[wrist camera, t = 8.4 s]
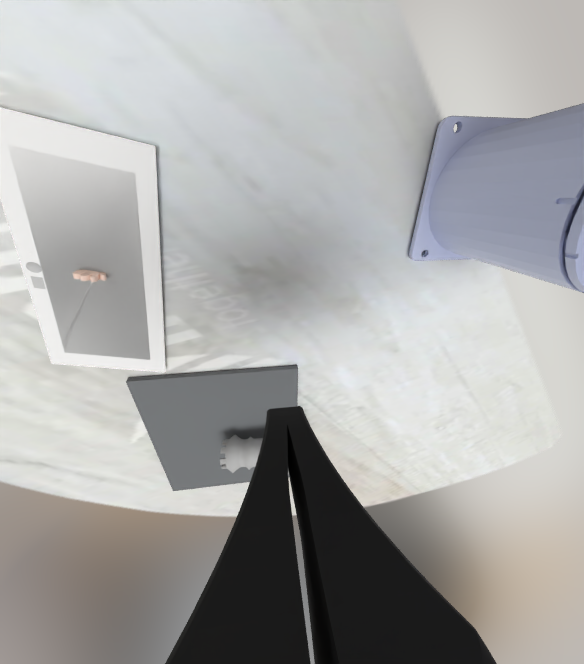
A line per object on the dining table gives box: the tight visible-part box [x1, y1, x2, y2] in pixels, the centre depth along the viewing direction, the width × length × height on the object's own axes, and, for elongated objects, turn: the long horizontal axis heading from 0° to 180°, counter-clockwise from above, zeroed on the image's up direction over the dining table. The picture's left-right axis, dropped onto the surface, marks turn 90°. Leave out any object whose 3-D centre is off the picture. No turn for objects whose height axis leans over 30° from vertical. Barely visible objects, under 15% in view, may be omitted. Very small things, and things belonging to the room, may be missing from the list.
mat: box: [126, 365, 298, 491], centre depth 25 cm, size 14×16×1 cm
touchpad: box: [0, 107, 166, 373], centre depth 16 cm, size 8×15×2 cm, turn 168°
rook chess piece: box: [220, 435, 289, 474], centre depth 23 cm, size 4×4×8 cm
